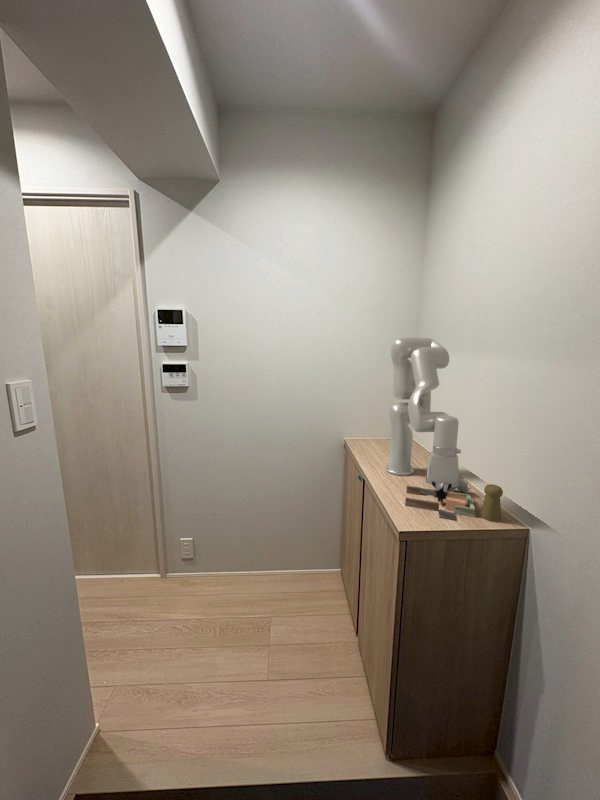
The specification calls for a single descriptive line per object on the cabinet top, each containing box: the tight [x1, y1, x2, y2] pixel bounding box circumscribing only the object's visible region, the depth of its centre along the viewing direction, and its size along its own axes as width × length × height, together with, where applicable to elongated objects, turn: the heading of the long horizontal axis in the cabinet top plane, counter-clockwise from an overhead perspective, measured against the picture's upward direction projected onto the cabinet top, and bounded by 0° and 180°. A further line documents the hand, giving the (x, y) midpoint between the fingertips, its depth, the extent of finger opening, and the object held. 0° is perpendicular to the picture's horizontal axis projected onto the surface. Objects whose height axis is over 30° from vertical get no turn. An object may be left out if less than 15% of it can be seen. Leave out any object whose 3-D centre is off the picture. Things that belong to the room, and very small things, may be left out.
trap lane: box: [404, 485, 476, 522], centre depth 117 cm, size 22×22×2 cm
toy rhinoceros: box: [439, 474, 472, 494], centre depth 126 cm, size 7×12×8 cm, turn 81°
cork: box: [479, 483, 504, 523], centre depth 107 cm, size 6×6×11 cm
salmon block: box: [445, 493, 467, 512], centre depth 114 cm, size 6×6×4 cm
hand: (440, 500), depth 117 cm, fingers closed
